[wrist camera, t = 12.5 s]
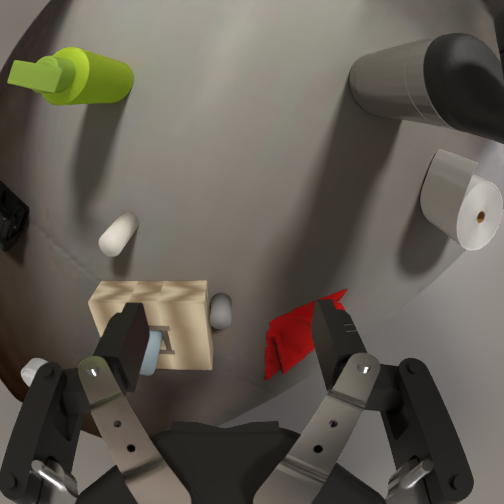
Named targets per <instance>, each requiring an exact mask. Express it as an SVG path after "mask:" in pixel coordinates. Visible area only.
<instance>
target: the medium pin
mask: <svg viewBox="0 0 504 504" xmlns="http://www.w3.org/2000/svg"><path fill="white" fill-rule="evenodd" d="M138 225H139V222H138V219H137V217H136V216H135V215H134V214H133V213H131V212H124V213H122V214H121V215H120V216H119V217H118V218H117V219H116V220H115V222H114V223H113V224H112V225H111V226H110V227H109V228H108V229H107V230H106V232H105V233H104V234H103V235H102V236H101V237H100V239H99V247H100V249H101V251H102V252H103V253H104V254H105V255H107V256H110V257H115V256H117V255H119V254H120V252H121V251H122V249H123V248H124V246H125V245H126V244H127V242H128V241H129V239H130V238H131V236H132V235H133V234H134V232H135V231H136V229H137V228H138Z"/></svg>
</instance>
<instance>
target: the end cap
mask: <svg viewBox="0 0 504 504" xmlns="http://www.w3.org/2000/svg"><path fill="white" fill-rule="evenodd" d="M28 213H29V207H28V206H27V205H26V204H25V203H24V202H22V201H21V200H20V199H19V198H18V197H17V196H16V195H15V194H14V193H13V192H12V191H11V190H10V189H9V188H8V187H7V186H6V185H4V184H3V183H2V182H1V181H0V249H1V250H2V251H4V252H5V251H8V250H9V249H11V248H12V247H13V245H14V244H15V243H16V241H17V240H18V238H19V237H20V235H21V233H22V231H23V226H24V223H25V221H26V218H27V215H28Z"/></svg>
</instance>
